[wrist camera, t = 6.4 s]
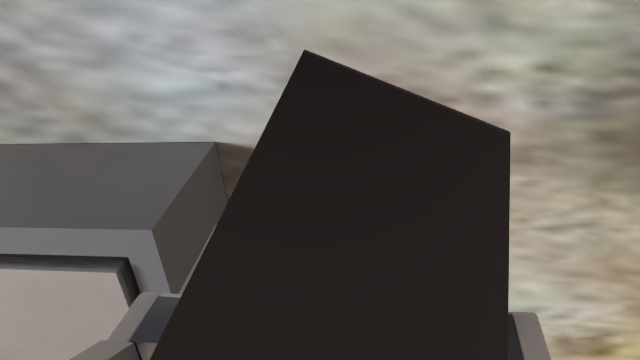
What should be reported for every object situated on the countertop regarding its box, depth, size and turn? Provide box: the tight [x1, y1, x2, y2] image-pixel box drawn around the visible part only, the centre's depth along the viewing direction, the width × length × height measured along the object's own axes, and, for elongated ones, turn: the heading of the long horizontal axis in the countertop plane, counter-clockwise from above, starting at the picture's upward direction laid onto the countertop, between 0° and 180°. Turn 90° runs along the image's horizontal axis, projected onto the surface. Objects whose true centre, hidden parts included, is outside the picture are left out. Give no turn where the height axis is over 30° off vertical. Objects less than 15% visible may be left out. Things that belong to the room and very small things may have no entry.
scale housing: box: [0, 142, 228, 294], centre depth 32 cm, size 18×18×9 cm
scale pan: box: [0, 253, 141, 360], centre depth 27 cm, size 17×14×1 cm
